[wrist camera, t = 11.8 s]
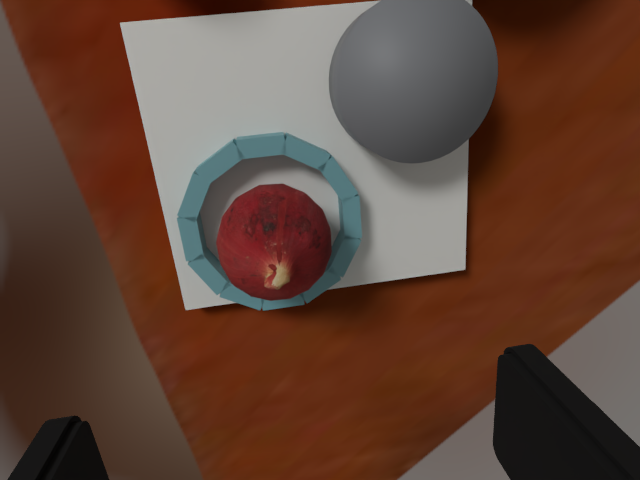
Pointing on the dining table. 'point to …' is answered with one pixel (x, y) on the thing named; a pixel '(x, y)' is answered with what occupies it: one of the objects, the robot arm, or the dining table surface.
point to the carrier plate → (317, 131)
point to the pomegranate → (274, 242)
